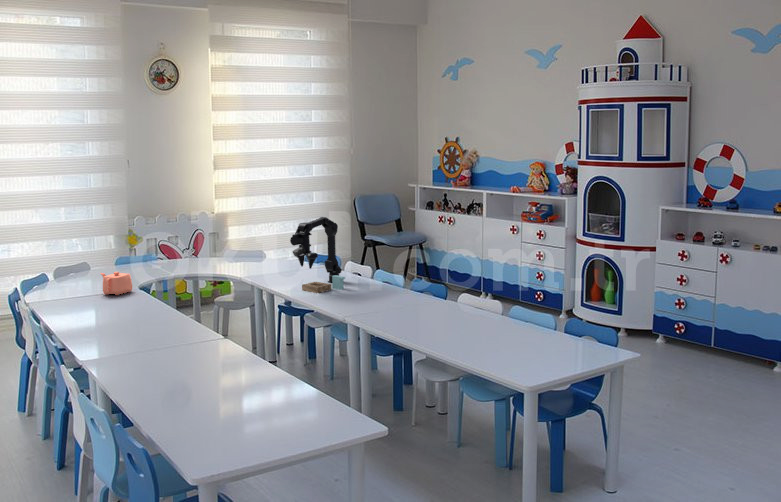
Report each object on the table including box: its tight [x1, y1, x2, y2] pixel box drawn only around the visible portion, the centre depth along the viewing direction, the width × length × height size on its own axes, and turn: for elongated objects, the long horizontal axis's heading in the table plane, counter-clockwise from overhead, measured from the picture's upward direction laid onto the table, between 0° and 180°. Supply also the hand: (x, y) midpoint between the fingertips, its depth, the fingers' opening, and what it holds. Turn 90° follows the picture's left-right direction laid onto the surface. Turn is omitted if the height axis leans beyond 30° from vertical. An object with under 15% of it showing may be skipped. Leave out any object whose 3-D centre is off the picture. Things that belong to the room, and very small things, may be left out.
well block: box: [301, 281, 332, 294], centre depth 486 cm, size 12×14×4 cm
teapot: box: [99, 271, 133, 296], centre depth 487 cm, size 20×19×14 cm
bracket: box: [331, 275, 346, 291], centre depth 488 cm, size 3×9×8 cm, turn 50°
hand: (306, 267), depth 486 cm, fingers open, 9 cm apart
